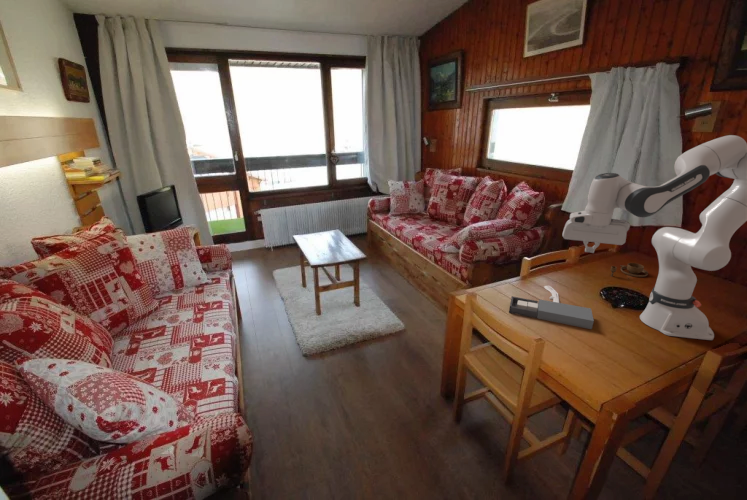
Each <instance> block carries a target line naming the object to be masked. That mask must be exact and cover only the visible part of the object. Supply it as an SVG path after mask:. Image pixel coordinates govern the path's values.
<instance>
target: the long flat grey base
mask: <svg viewBox="0 0 747 500" xmlns="http://www.w3.org/2000/svg"><path fill="white" fill-rule="evenodd" d="M593 316H594V315H593V311H592V308H590V307H585V306H578V305H572V304H567V303H562V302H559V303H557V302H553V301H550V300H546V299H545V300H544V299H541V298H540V299H538V309H537V317H536V319H539V320H543V321H550V322H553V323H558V324H564V325H568V326H572V327H573V326H574V327H578V328H583V329H589V330H592V329H593V326H594V321H595V320H594V317H593Z"/></svg>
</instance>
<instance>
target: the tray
mask: <svg viewBox="0 0 747 500" xmlns="http://www.w3.org/2000/svg"><path fill="white" fill-rule="evenodd" d="M518 300H520V301H525V302H532V303H538V302H539V300H534V299H529V298H523V297H517V296H511V298H510V303H509V310H508V313H510V314H513V315H518V316H522V317H523V316H524V317H529V318H534V319H537V311H533V310H528V309H523V308H518V307H517V303H518ZM527 307H528V303H527Z"/></svg>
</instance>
